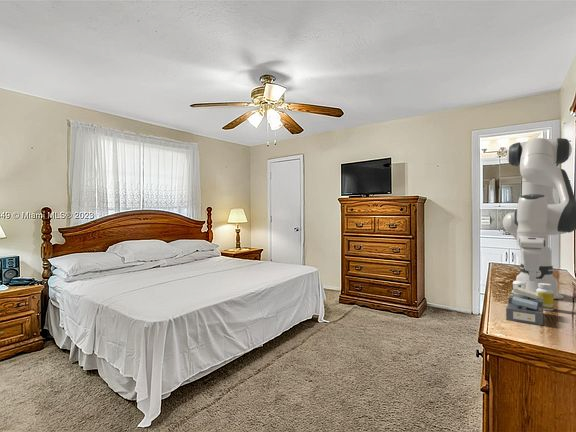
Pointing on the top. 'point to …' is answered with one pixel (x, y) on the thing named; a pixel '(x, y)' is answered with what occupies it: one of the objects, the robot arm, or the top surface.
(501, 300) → the top surface
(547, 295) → the supplement bottle
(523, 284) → the milkshake
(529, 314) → the console
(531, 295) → the rocker rear
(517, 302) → the rocker front
